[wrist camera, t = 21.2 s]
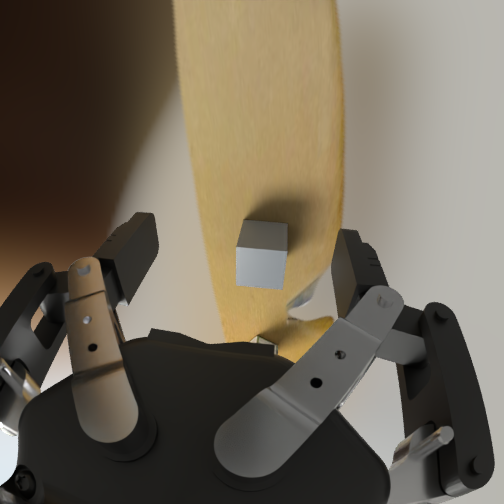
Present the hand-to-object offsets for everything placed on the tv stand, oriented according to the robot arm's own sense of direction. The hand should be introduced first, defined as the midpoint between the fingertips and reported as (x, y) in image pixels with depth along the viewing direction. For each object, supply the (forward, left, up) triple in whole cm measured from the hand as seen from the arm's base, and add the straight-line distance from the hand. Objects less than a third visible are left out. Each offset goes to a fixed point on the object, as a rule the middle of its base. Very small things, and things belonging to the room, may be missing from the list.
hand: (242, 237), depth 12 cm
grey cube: (+18, 0, -28) cm, 33 cm away
